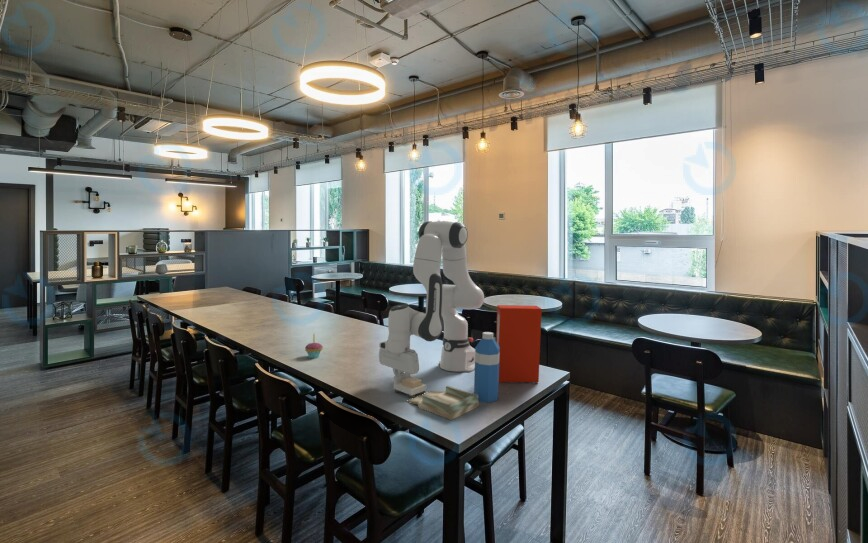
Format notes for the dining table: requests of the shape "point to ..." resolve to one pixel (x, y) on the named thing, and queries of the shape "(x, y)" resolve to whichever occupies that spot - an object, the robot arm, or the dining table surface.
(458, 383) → the dining table surface
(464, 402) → the dock
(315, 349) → the cupcake
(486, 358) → the water bottle
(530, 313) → the red box
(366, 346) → the dining table surface
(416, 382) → the cart
